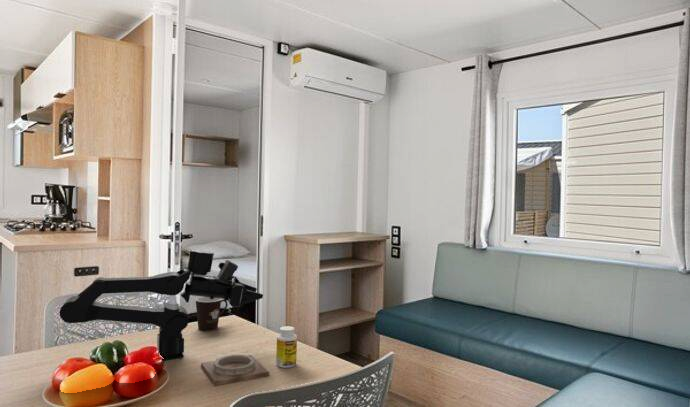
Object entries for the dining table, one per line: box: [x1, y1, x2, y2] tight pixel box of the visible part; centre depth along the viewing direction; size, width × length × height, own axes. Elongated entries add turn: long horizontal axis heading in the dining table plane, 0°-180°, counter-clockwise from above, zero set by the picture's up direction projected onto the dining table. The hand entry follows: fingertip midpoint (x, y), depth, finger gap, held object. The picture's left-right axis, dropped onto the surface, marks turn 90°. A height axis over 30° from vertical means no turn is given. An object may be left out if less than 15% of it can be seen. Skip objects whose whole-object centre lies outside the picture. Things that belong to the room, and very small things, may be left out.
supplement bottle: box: [275, 325, 298, 369], centre depth 129 cm, size 6×6×10 cm
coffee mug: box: [195, 296, 228, 332], centre depth 161 cm, size 12×9×10 cm
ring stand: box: [200, 354, 270, 386], centre depth 123 cm, size 14×14×2 cm
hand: (259, 292), depth 142 cm, fingers open, 9 cm apart
